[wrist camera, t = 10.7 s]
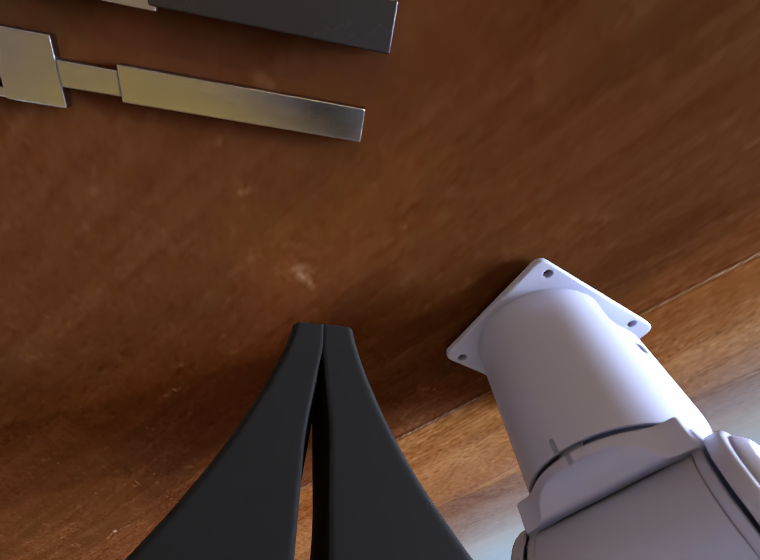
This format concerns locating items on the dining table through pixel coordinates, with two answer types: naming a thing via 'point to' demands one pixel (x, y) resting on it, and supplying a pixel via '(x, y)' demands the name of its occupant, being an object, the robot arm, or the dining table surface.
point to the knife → (298, 17)
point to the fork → (161, 89)
